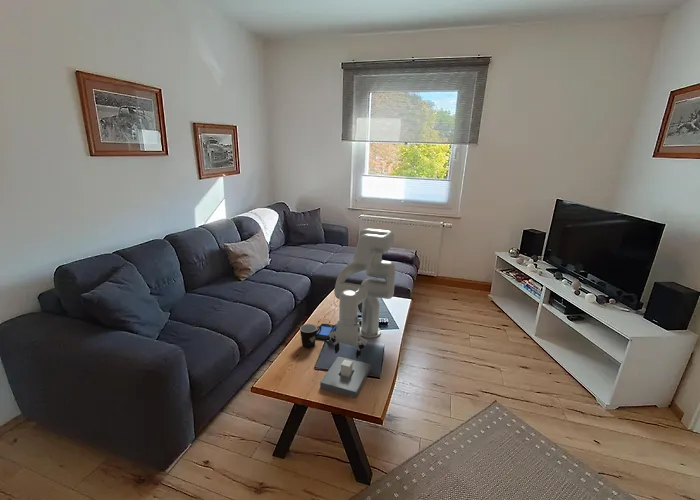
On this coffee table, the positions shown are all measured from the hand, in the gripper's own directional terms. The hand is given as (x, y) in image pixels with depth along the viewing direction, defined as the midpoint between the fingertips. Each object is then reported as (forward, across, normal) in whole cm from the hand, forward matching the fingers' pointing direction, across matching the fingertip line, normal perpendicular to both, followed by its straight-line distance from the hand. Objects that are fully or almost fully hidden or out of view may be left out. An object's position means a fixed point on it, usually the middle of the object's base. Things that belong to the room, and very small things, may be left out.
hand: (347, 354), depth 144 cm
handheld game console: (+14, +22, -31) cm, 41 cm away
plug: (+12, 0, +1) cm, 12 cm away
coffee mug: (+13, +26, -17) cm, 34 cm away
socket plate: (+12, 0, +1) cm, 12 cm away
